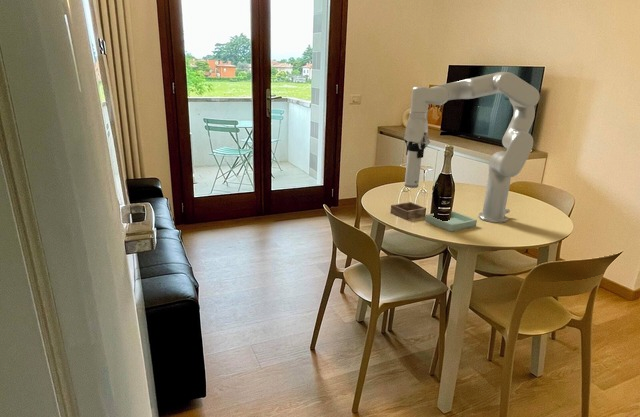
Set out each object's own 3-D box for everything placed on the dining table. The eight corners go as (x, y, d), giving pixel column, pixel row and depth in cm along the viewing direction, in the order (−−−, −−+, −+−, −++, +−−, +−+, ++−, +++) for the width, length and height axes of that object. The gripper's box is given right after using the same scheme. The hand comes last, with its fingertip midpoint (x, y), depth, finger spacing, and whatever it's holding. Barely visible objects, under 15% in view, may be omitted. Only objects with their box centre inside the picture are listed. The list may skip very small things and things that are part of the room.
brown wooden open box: (409, 209, 207) (410, 201, 205) (425, 216, 198) (426, 208, 196) (390, 213, 200) (391, 205, 199) (406, 220, 192) (407, 211, 190)
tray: (449, 216, 199) (450, 210, 198) (475, 226, 187) (476, 219, 186) (425, 221, 191) (426, 215, 190) (450, 232, 179) (451, 225, 178)
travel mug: (419, 188, 191) (423, 144, 185) (404, 187, 192) (408, 143, 186) (418, 185, 197) (423, 142, 191) (404, 184, 198) (408, 141, 192)
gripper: (398, 114, 190) (395, 153, 196) (426, 118, 176) (422, 160, 182) (411, 113, 194) (407, 152, 199) (439, 117, 180) (434, 159, 185)
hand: (414, 155), depth 190 cm, fingers closed on travel mug, 6 cm apart
